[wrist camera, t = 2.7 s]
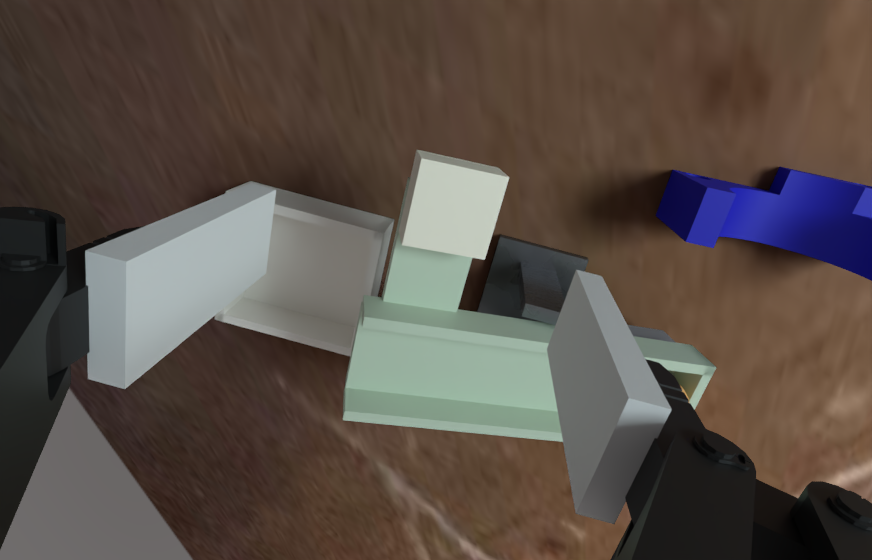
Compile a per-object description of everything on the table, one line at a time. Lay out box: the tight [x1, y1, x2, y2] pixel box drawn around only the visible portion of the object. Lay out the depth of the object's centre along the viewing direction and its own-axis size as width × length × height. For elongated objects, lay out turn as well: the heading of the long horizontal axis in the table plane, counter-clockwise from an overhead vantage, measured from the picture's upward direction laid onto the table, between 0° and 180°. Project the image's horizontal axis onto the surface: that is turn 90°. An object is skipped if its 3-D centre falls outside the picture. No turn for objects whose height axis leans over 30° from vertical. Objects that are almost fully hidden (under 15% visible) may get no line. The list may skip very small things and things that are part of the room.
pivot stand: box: [477, 234, 588, 325], centre depth 33 cm, size 6×11×8 cm, turn 166°
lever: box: [343, 150, 716, 442], centre depth 29 cm, size 20×14×5 cm
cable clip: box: [656, 167, 872, 281], centre depth 30 cm, size 12×4×6 cm, turn 79°
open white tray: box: [215, 181, 394, 356], centre depth 35 cm, size 10×9×4 cm
